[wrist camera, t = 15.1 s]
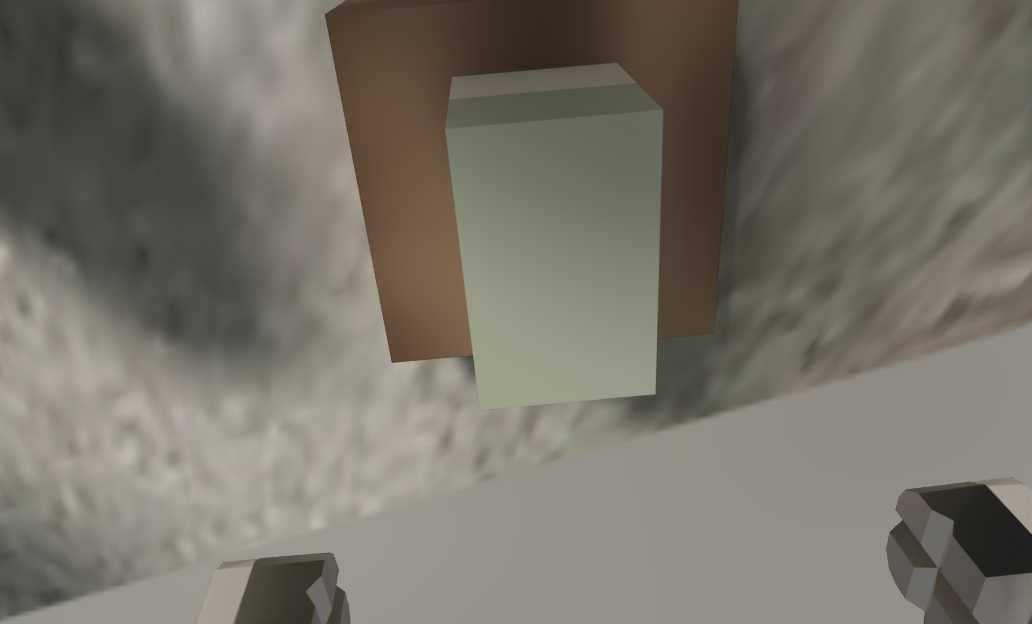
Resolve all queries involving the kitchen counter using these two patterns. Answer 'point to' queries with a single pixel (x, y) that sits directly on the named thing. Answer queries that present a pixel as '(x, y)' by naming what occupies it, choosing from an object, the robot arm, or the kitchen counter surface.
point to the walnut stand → (509, 48)
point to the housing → (558, 231)
